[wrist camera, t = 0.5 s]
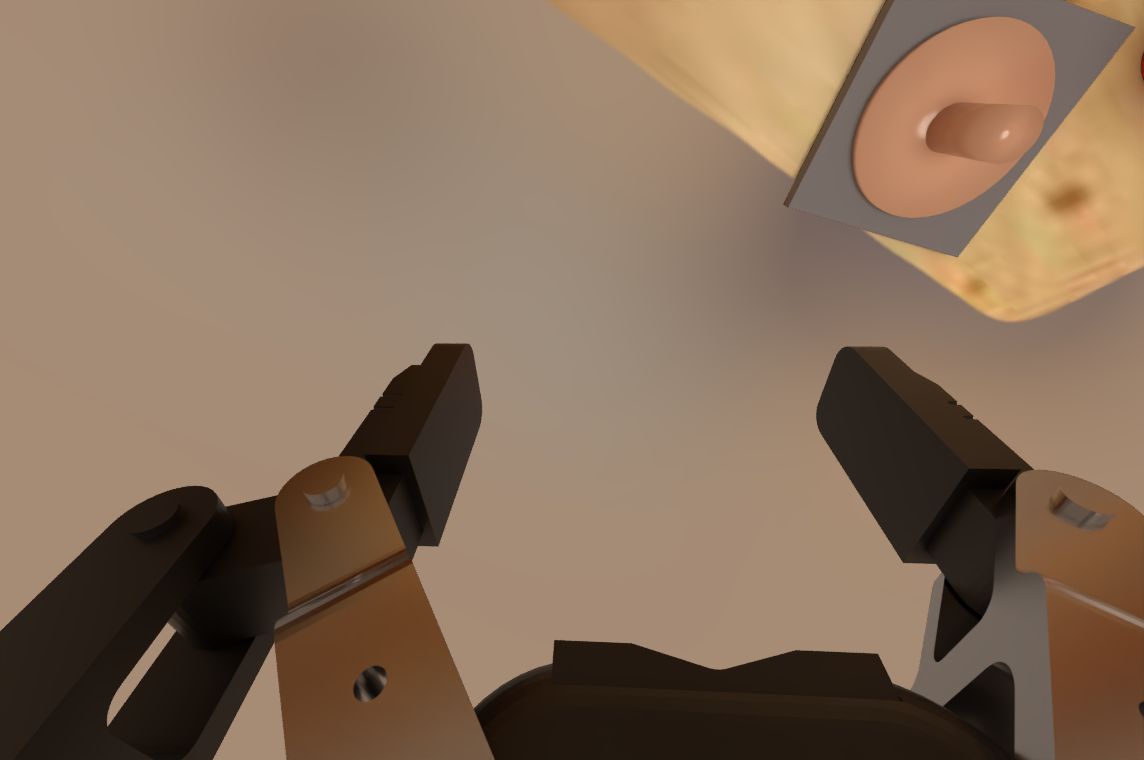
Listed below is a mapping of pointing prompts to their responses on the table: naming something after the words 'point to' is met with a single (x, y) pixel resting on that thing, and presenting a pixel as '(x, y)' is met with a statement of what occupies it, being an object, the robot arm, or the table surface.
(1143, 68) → the coffee cup
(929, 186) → the lid
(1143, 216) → the table surface
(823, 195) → the mat
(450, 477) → the robot arm
